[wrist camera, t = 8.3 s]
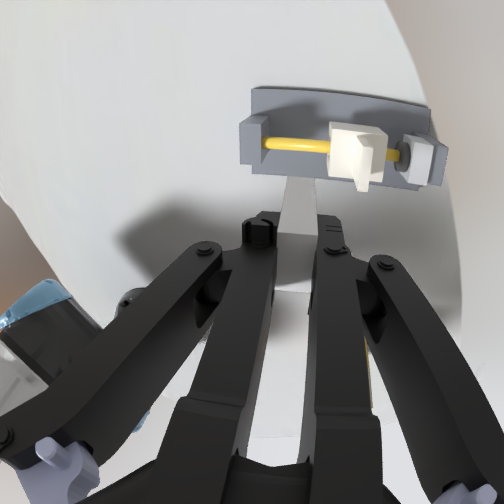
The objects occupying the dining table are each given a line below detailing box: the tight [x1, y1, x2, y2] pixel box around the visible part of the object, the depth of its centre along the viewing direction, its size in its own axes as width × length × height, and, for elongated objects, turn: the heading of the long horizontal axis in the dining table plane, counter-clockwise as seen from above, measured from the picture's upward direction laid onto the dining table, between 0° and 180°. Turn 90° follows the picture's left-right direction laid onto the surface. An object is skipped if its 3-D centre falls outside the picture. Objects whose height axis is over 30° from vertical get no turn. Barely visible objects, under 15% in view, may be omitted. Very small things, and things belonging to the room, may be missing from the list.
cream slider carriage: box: [327, 121, 388, 192], centre depth 25 cm, size 5×4×8 cm
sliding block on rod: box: [239, 89, 448, 191], centre depth 28 cm, size 20×10×8 cm, turn 91°
